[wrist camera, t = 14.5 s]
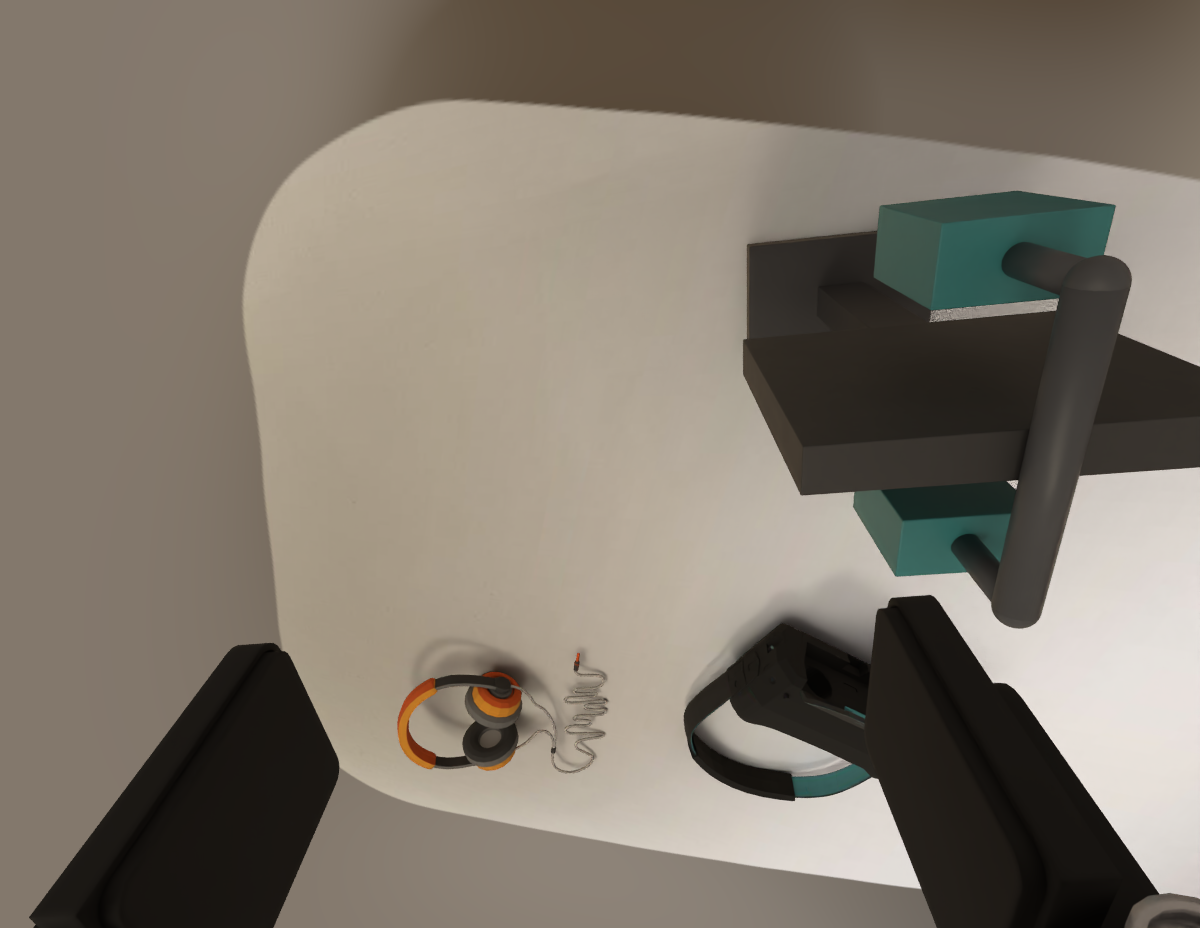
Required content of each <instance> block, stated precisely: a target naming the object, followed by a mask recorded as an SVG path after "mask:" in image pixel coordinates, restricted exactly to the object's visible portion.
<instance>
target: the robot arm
mask: <svg viewBox="0 0 1200 928" xmlns="http://www.w3.org/2000/svg"><path fill="white" fill-rule="evenodd" d="M864 736H865V743H866V747H867V751H868V754H869V756H870V759H871V762H872V764H873V767H874V769H875V772H876V774H877V777H878V779H879V782H880V784H881V787H882V789H883V792H884V795H885V797H886V800H887V802H888V805H889V807H890V810H891V812H892V815H893V817H894V820H895V822H896V825H897V828H898V830H899V833H900V835H901V838H902V840H903V843H904V845H905V848H906V850H907V853H908V855H909V858H910V861H911V863H912V866H913V868H914V871H915V873H916V876H917V878H918V881H919V883H920V886H921V888H922V891H923V894H924V896H925V898H926V901H927V904H928V906H929V909H930V911H931V914H932V916H933V919H934V921H935V924H936V927H937V928H1200V899H1198V898H1195V897H1189V896H1183V895H1177V894H1172V893H1167V894H1159V893H1158V891H1157V890H1156V889H1155V887H1154V886H1153V884H1152V883H1151V881H1150V880H1149V879H1148V877H1147V876H1146V874H1145V873H1144V871H1143V870H1142V869H1141V867H1140V866H1139V864H1138V863H1137V861H1136V860H1135V859H1134V857H1133V856H1132V854H1131V853H1130V851H1129V850H1128V849H1127V847H1126V846H1125V844H1124V843H1123V842H1122V840H1121V839H1120V837H1119V836H1118V834H1117V833H1116V832H1115V830H1114V829H1113V827H1112V826H1111V824H1110V823H1109V822H1108V820H1107V819H1106V817H1105V816H1104V814H1103V813H1102V812H1101V810H1100V809H1099V807H1098V806H1097V804H1096V803H1095V802H1094V800H1093V799H1092V797H1091V796H1090V794H1089V793H1088V792H1087V790H1086V789H1085V787H1084V786H1083V784H1082V783H1081V782H1080V780H1079V779H1078V777H1077V776H1076V774H1075V773H1074V772H1073V770H1072V769H1071V767H1070V766H1069V765H1068V763H1067V762H1066V760H1065V759H1064V757H1063V756H1062V755H1061V753H1060V752H1059V750H1058V749H1057V747H1056V746H1055V745H1054V743H1053V742H1052V740H1051V739H1050V737H1049V736H1048V735H1047V733H1046V732H1045V730H1044V729H1043V727H1042V726H1041V725H1040V723H1039V722H1038V720H1037V719H1036V717H1035V716H1034V715H1033V713H1032V712H1031V710H1030V709H1029V707H1028V706H1027V705H1026V703H1025V702H1024V700H1023V699H1022V698H1021V697H1020V695H1019V694H1018V693H1017V692H1016V691H1015V690H1014V689H1013V688H1012V687H1010V686H1009V685H1007V684H1005V683H992V681H991V680H990V678H989V677H988V675H987V674H986V672H985V671H984V669H983V668H982V666H981V665H980V663H979V662H978V660H977V659H976V657H975V656H974V654H973V653H972V651H971V650H970V648H969V647H968V645H967V644H966V642H965V641H964V639H963V638H962V636H961V635H960V633H959V632H958V630H957V629H956V627H955V626H954V624H953V623H952V621H951V620H950V618H949V617H948V615H947V614H946V612H945V611H944V609H943V608H942V606H941V605H940V603H939V602H938V601H937V599H936V598H935V597H933V596H931V595H925V596H911V597H897V598H891V599H890V601H889V603H888V607H887V608H882V609H878V611H877V614H876V622H875V632H874V641H873V650H872V660H871V669H870V678H869V688H868V697H867V706H866V716H865V725H864ZM338 775H339V761H338V757H337V755H336V753H335V751H334V749H333V747H332V744H331V742H330V740H329V738H328V736H327V734H326V732H325V730H324V728H323V725H322V723H321V721H320V719H319V717H318V715H317V713H316V711H315V708H314V706H313V704H312V702H311V700H310V698H309V696H308V694H307V692H306V689H305V687H304V685H303V683H302V681H301V679H300V677H299V675H298V672H297V670H296V668H295V666H294V664H293V662H292V660H291V658H290V656H289V655H288V653H286V652H285V651H281V650H280V648H279V647H278V646H277V645H276V644H274V643H264V644H249V645H238V646H235V647H233V648H232V649H231V650H230V651H229V652H228V653H227V654H226V656H225V657H224V658H223V660H222V661H221V662H220V664H219V665H218V666H217V668H216V669H215V670H214V672H213V673H212V674H211V676H210V677H209V678H208V680H207V681H206V682H205V684H204V685H203V686H202V688H201V689H200V690H199V692H198V693H197V694H196V696H195V697H194V698H193V700H192V701H191V702H190V704H189V705H188V706H187V708H186V709H185V710H184V712H183V713H182V714H181V716H180V717H179V718H178V720H177V721H176V722H175V724H174V725H173V726H172V728H171V729H170V730H169V732H168V733H167V734H166V736H165V737H164V738H163V740H162V741H161V742H160V744H159V745H158V746H157V748H156V749H155V750H154V752H153V753H152V754H151V756H150V757H149V759H148V760H147V761H146V762H145V764H144V765H143V766H142V768H141V769H140V770H139V772H138V773H137V774H136V776H135V777H134V778H133V780H132V781H131V782H130V784H129V785H128V786H127V788H126V789H125V790H124V792H123V793H122V794H121V796H120V797H119V798H118V800H117V801H116V802H115V804H114V805H113V806H112V808H111V809H110V810H109V812H108V813H107V814H106V816H105V817H104V818H103V820H102V821H101V822H100V824H99V825H98V826H97V828H96V829H95V831H94V832H93V833H92V834H91V836H90V837H89V838H88V840H87V841H86V842H85V844H84V845H83V846H82V848H81V849H80V850H79V852H78V853H77V854H76V856H75V857H74V858H73V860H72V861H71V862H70V864H69V865H68V866H67V868H66V869H65V870H64V872H63V873H62V874H61V876H60V877H59V878H58V880H57V881H56V882H55V884H54V885H53V886H52V888H51V889H50V890H49V892H48V893H47V894H46V896H45V897H44V898H43V900H42V901H41V902H40V904H39V905H38V906H37V908H36V909H35V910H34V912H33V913H32V914H31V916H30V917H29V918H30V919H31V920H32V921H33V922H34V923H35V924H36V925H35V926H34V928H273V927H274V925H275V923H276V920H277V918H278V916H279V913H280V911H281V909H282V906H283V904H284V902H285V900H286V897H287V895H288V893H289V890H290V888H291V886H292V883H293V881H294V879H295V877H296V874H297V872H298V870H299V867H300V865H301V863H302V861H303V858H304V856H305V854H306V851H307V849H308V847H309V845H310V842H311V840H312V838H313V835H314V833H315V831H316V828H317V826H318V824H319V822H320V819H321V817H322V815H323V812H324V810H325V808H326V805H327V803H328V801H329V799H330V796H331V794H332V792H333V789H334V787H335V785H336V782H337V779H338Z"/></svg>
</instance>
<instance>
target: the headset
mask: <svg viewBox="0 0 1200 928" xmlns="http://www.w3.org/2000/svg"><path fill="white" fill-rule="evenodd" d="M1115 207H1116V206H1115V205H1112V204H1105V203H1098V202H1091V201H1085V200H1078V199H1071V198H1064V197H1057V196H1050V195H1043V194H1036V193H1029V192H1022V191H1010V192H1001V193H992V194H983V195H973V196H964V197H955V198H946V199H937V200H927V201H918V202H909V203H900V204H891V205H881V206H880V209H879V220H878V232H877V243H876V254H875V266H874V278H876V279H877V280H879V281H881V282H883V283H884V284H886V285H888V286H890V287H891V288H893V289H895V290H896V291H898V292H900V293H902V294H903V295H905V296H907V297H909V298H910V299H912V300H914V301H915V302H917V303H919V304H921V305H922V306H924V307H926V308H928V309H929V310H941V309H952V308H962V307H973V306H984V305H994V304H1005V303H1015V302H1026V301H1036V300H1047V299H1057V298H1059V301H1058V306H1057V310H1056V314H1055V319H1054V323H1053V328H1052V332H1051V337H1050V341H1049V346H1048V350H1047V355H1046V359H1045V364H1044V368H1043V373H1042V377H1041V382H1040V386H1039V390H1038V395H1037V399H1036V404H1035V408H1034V413H1033V417H1032V422H1031V426H1030V431H1029V435H1028V440H1027V444H1026V449H1025V453H1024V458H1023V462H1022V466H1021V471H1020V475H1019V480H1018V484H1017V489H1014V488H1013V487H1012V486H1011V485H1010V484H1009V483H1008V482H1007V481H998V482H984V483H970V484H956V485H942V486H927V487H913V488H899V489H885V490H871V491H857V492H855V493H854V504H853V507H854V509H855V511H856V512H857V514H858V516H859V517H860V519H861V521H862V522H863V524H864V526H865V527H866V529H867V530H868V532H869V534H870V535H871V537H872V539H873V540H874V542H875V544H876V545H877V547H878V549H879V550H880V552H881V553H882V555H883V557H884V558H885V560H886V562H887V563H888V565H889V567H890V568H891V570H892V571H893V573H894V575H895V576H897V577H898V576H914V575H930V574H946V573H962V572H968V573H969V574H970V576H971V577H972V578H973V580H974V581H975V582H976V583H977V585H978V586H979V587H980V588H981V590H982V591H983V592H984V594H985V595H986V596H987V597H988V599H989V600H990V601H991V607H992V611H993V613H994V615H995V617H996V618H997V619H998V620H999V621H1000V622H1001V623H1003V624H1005V625H1007V626H1009V627H1012V628H1027V627H1030V626H1032V625H1033V624H1035V623H1036V622H1037V621H1038V620H1039V618H1040V616H1041V613H1042V610H1043V606H1044V602H1045V599H1046V595H1047V591H1048V588H1049V584H1050V581H1051V577H1052V573H1053V570H1054V566H1055V562H1056V559H1057V555H1058V551H1059V548H1060V544H1061V540H1062V537H1063V533H1064V529H1065V526H1066V522H1067V518H1068V515H1069V511H1070V507H1071V504H1072V500H1073V496H1074V493H1075V489H1076V485H1077V482H1078V478H1079V474H1080V471H1081V467H1082V463H1083V460H1084V456H1085V452H1086V449H1087V445H1088V441H1089V438H1090V434H1091V430H1092V427H1093V423H1094V419H1095V416H1096V412H1097V408H1098V405H1099V401H1100V397H1101V394H1102V390H1103V386H1104V383H1105V379H1106V375H1107V372H1108V368H1109V364H1110V361H1111V357H1112V353H1113V350H1114V346H1115V342H1116V339H1117V335H1118V331H1119V328H1120V324H1121V320H1122V317H1123V313H1124V309H1125V306H1126V302H1127V298H1128V295H1129V291H1130V287H1131V282H1132V276H1131V272H1130V270H1129V268H1128V267H1127V265H1126V264H1125V263H1124V262H1123V261H1121V260H1120V259H1117V258H1115V257H1111V256H1106V255H1104V252H1105V247H1106V243H1107V239H1108V235H1109V231H1110V227H1111V223H1112V219H1113V215H1114V211H1115Z"/></svg>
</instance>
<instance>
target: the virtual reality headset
mask: <svg viewBox="0 0 1200 928" xmlns="http://www.w3.org/2000/svg"><path fill="white" fill-rule="evenodd" d="M870 669H871V665H870V664H868V663H866V662H863V661H861V660H859V659H857V658H855V657H853V656H851V655H849V654H847V653H845V652H843V651H841V650H839V649H837V648H835V647H833V646H831V645H829V644H827V643H825V642H823V641H821V640H819V639H817V638H815V637H813V636H811V635H809V634H807V633H804V632H802V631H799V630H797V629H795V628H794V627H792V626H790V625H787V624H784V623H781V624H780V625H779V626H778V627H777V628H775V629H774V630H773V631H772V632H770V633H769V634H768V635H767V636H766V637H764V638H763V639H762V640H761V641H760V642H758V643H757V644H756V645H755V646H754V647H753V648H752V649H751V650H749V651H748V652H747V653H746V654H744V655H743V656H742V657H741V658H740V659H739V660H738V661H737V662H736V663H734V664H733V665H732V666H731V667H729V668H728V669H727V671H726V672H725V673H724V674H722V675H721V676H720V677H718V678H717V679H716V680H714V681H713V682H712V683H711V684H709V685H708V686H707V687H705V688H704V689H703V690H702V691H701V692H700V693H699V694H697V695H696V696H695V697H694V698H693V700H692V701H691V702H690V703H689V704H688V706H687V708H686V710H685V713H684V726H685V732H686V736H687V741H688V746H689V749H690V752H691V755H692V758H693V759H694V761H695V762H696V763H697V764H698V765H699V766H700V767H701V768H702V769H704V770H705V771H706V772H707V773H708V774H709V775H711V776H712V777H714V778H715V779H717V780H718V781H720V782H722V783H724V784H726V785H728V786H730V787H732V788H735V789H738V790H740V791H743V792H746V793H749V794H753V795H757V796H761V797H767V798H772V799H778V800H787V801H795V798H816V797H825V796H830V795H834V794H837V793H840V792H843V791H845V790H848V789H850V788H852V787H854V786H857V785H859V784H860V783H862V782H864V781H866V780H868V779H869V778H871V777H873V778H876V779H878V777H877V774H876V772H875V769H874V767H873V764H872V762H871V759H870V756H869V754H868V751H867V747H866V743H865V736H864V725H865V716H866V706H867V697H868V688H869V678H870ZM729 699H730V702H731V704H732V707H733V708H734V710H735V711H736V713H737V715H738V716H739V717H740V718H741V719H743V720H744V721H746V722H749V723H752V724H757V725H762V726H766V727H769V728H772V729H775V730H778V731H780V732H783V733H785V734H787V735H790V736H792V737H795V738H797V739H799V740H802V741H804V742H807V743H809V744H811V745H814V746H816V747H818V748H820V749H823V750H825V751H827V752H829V753H831V754H834V755H836V756H838V757H840V758H842V759H844V760H846V761H848V762H850V763H852V764H851V765H849V766H847V767H845V768H843V769H840V770H838V771H835V772H832V773H828V774H824V775H817V776H804V777H793V776H792V775H791V774H790V773H784V772H777V771H771V770H765V769H759V768H755V767H751V766H747V765H744V764H741V763H738V762H736V761H733V760H731V759H729V758H727V757H725V756H723V755H721V754H719V753H717V752H716V751H714V750H713V749H711V748H710V747H708V746H707V745H706V744H705V743H704V742H703V741H702V740H701V739H700V738H699V737H698V736H697V735H696V734H695V733H694V730H695V728H696V727H697V726H698V725H699V724H700V723H701V722H702V721H703V720H704V719H705V718H706V717H707V716H709V715H710V714H711V713H713V712H714V711H715V710H716V709H718V708H719V707H720V706H722V705H723V704H724V703H725V702H726V701H728V700H729Z"/></svg>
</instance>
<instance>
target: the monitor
mask: <svg viewBox="0 0 1200 928" xmlns="http://www.w3.org/2000/svg"><path fill="white" fill-rule="evenodd" d="M877 232H878V231H871V232H861V233H851V234H842V235H832V236H823V237H813V238H804V239H794V240H784V241H775V242H765V243H756V244H748V245H747V339H744V340H743V375H744V377H745V379H746V381H747V383H748V385H749V387H750V389H751V392H752V394H753V396H754V398H755V400H756V402H757V404H758V406H759V408H760V410H761V412H762V415H763V417H764V419H765V421H766V423H767V425H768V427H769V429H770V431H771V433H772V435H773V438H774V440H775V442H776V444H777V446H778V448H779V450H780V452H781V454H782V456H783V459H784V461H785V463H786V465H787V467H788V469H789V471H790V473H791V475H792V477H793V479H794V482H795V484H796V486H797V488H798V490H799V492H800V494H801V495H814V494H828V493H843V492H857V491H871V490H885V489H899V488H913V487H927V486H942V485H956V484H970V483H984V482H998V481H1012V480H1019V475H1020V471H1021V466H1022V462H1023V458H1024V453H1025V449H1026V444H1027V440H1028V435H1029V431H1030V426H1031V422H1032V417H1033V413H1034V408H1035V404H1036V399H1037V395H1038V390H1039V386H1040V382H1041V377H1042V373H1043V368H1044V364H1045V359H1046V355H1047V350H1048V346H1049V341H1050V337H1051V332H1052V328H1053V323H1054V319H1055V314H1056V311H1048V312H1037V313H1026V314H1016V315H1005V316H994V317H983V318H972V319H961V320H950V321H939V322H929V320H930V313H931V310H929V309H928V308H926V307H924V306H922V305H921V304H919V303H917V302H915V301H914V300H912V299H910V298H909V297H907V296H905V295H903V294H902V293H900V292H898V291H896V290H895V289H893V288H891V287H890V286H888V285H886V284H884V283H883V282H881V281H879V280H877V279H876V278H874V266H875V254H876V243H877ZM1196 467H1200V367H1199V366H1196V365H1194V364H1191V363H1189V362H1187V361H1184V360H1182V359H1179V358H1177V357H1174V356H1172V355H1169V354H1167V353H1165V352H1162V351H1160V350H1157V349H1155V348H1152V347H1150V346H1147V345H1145V344H1142V343H1140V342H1138V341H1135V340H1133V339H1130V338H1128V337H1125V336H1123V335H1120V334H1118V335H1117V339H1116V342H1115V346H1114V350H1113V353H1112V357H1111V361H1110V364H1109V368H1108V372H1107V375H1106V379H1105V383H1104V386H1103V390H1102V394H1101V397H1100V401H1099V405H1098V408H1097V412H1096V416H1095V419H1094V423H1093V427H1092V430H1091V434H1090V438H1089V441H1088V445H1087V449H1086V452H1085V456H1084V460H1083V463H1082V467H1081V471H1080V474H1079V476H1083V475H1097V474H1111V473H1125V472H1139V471H1153V470H1168V469H1182V468H1196Z"/></svg>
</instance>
